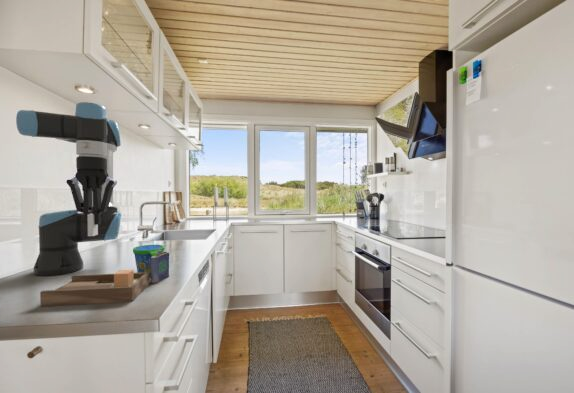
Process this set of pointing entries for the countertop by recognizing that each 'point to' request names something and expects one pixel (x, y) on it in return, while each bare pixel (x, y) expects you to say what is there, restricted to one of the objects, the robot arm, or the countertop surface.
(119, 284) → the block
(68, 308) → the countertop surface
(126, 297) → the wooden tray
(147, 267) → the snack cup
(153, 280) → the purple carton
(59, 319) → the countertop surface
